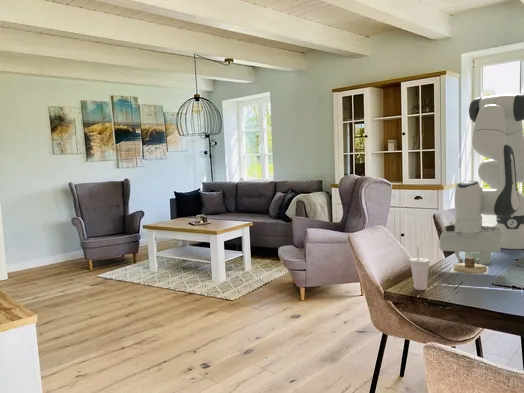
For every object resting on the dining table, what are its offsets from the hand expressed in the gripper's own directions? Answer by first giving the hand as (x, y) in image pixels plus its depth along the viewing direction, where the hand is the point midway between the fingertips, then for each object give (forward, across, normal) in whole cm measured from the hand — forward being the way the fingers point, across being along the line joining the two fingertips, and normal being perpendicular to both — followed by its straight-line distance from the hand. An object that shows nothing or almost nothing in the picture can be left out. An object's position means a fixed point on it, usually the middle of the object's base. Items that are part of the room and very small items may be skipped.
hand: (469, 263), depth 163 cm
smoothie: (+3, +13, +26) cm, 29 cm away
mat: (+3, 0, 0) cm, 3 cm away
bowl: (+3, -2, -13) cm, 13 cm away
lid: (+2, 0, 0) cm, 2 cm away
